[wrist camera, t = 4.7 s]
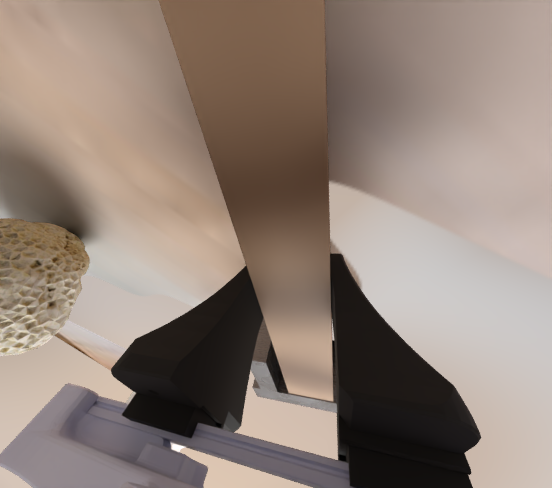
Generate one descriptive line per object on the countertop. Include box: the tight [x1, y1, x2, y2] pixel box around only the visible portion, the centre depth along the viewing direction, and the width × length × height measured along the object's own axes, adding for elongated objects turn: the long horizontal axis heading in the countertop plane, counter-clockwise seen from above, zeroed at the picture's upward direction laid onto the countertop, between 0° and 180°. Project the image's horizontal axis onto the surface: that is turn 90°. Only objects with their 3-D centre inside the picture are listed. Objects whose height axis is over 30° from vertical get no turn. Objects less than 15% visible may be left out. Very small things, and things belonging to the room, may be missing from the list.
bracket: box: [251, 318, 337, 413], centre depth 17 cm, size 10×7×5 cm
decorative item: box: [0, 218, 90, 356], centre depth 14 cm, size 12×9×10 cm
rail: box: [159, 0, 333, 402], centre depth 11 cm, size 22×4×5 cm, turn 10°
